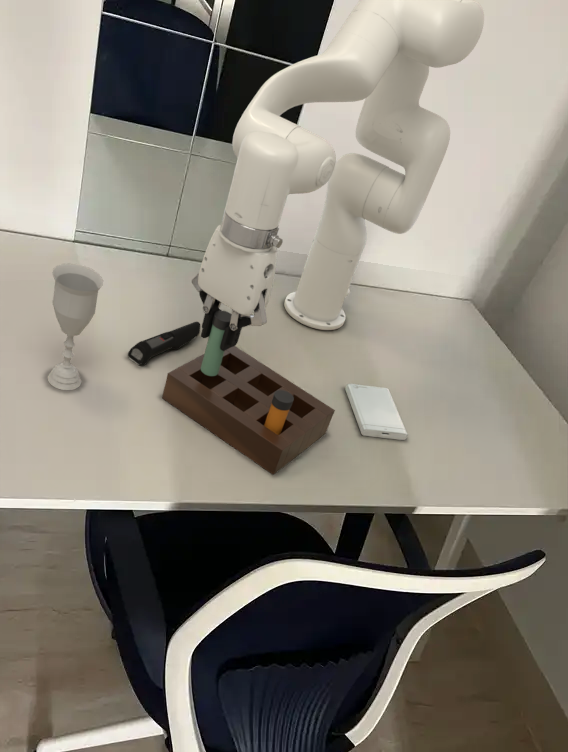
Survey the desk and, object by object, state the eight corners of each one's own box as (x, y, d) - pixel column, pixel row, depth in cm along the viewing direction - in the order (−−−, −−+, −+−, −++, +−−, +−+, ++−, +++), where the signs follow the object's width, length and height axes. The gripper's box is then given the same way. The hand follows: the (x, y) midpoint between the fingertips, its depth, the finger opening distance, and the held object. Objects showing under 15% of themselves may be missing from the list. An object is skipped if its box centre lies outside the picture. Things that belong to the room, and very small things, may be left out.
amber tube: (263, 437, 124) (281, 387, 118) (279, 447, 124) (297, 397, 117) (253, 445, 122) (270, 394, 116) (268, 455, 121) (286, 405, 115)
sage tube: (207, 362, 124) (222, 308, 118) (222, 372, 123) (238, 318, 117) (196, 369, 122) (210, 314, 116) (211, 379, 121) (226, 324, 115)
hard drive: (347, 382, 140) (364, 428, 131) (389, 388, 142) (409, 433, 133) (344, 390, 141) (361, 435, 132) (386, 395, 143) (405, 440, 134)
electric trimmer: (203, 341, 140) (207, 326, 138) (141, 368, 129) (145, 352, 127) (187, 331, 141) (191, 315, 139) (125, 356, 130) (128, 340, 128)
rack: (220, 365, 136) (227, 341, 133) (325, 433, 130) (335, 410, 126) (161, 398, 125) (167, 372, 122) (273, 475, 118) (282, 450, 115)
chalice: (97, 387, 122) (113, 285, 111) (60, 399, 118) (73, 295, 106) (68, 361, 125) (81, 259, 114) (31, 372, 121) (41, 268, 109)
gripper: (311, 251, 108) (274, 360, 119) (218, 197, 112) (191, 307, 124) (281, 264, 102) (245, 377, 114) (185, 207, 107) (160, 321, 119)
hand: (217, 340), depth 119 cm, fingers closed on sage tube, 3 cm apart
